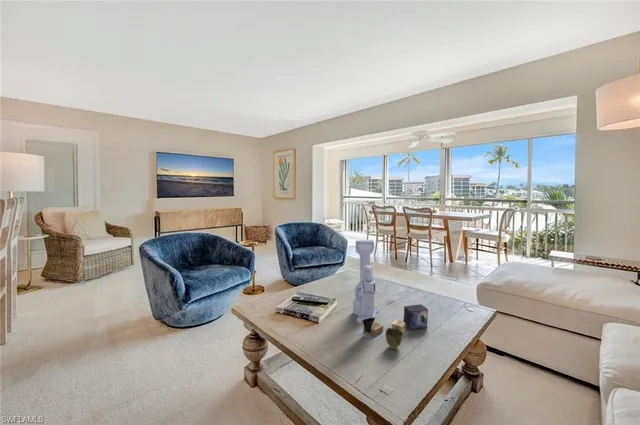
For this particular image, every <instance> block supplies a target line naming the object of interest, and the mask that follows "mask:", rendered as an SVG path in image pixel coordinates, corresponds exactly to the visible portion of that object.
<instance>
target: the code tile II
mask: <svg viewBox="0 0 640 425" xmlns="http://www.w3.org/2000/svg"><path fill="white" fill-rule="evenodd" d="M409 334H410V332H409V331H406V330H405V333H404V334H403V335H402V339H404V338H405V337H406V336H408V335H409Z"/></svg>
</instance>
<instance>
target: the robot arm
mask: <svg viewBox="0 0 640 425" xmlns="http://www.w3.org/2000/svg"><path fill="white" fill-rule="evenodd" d="M374 251H375V241H374V239H356V240H355V253H356V254H358V255H359V282H358V283H356V284H355V286H354V298H353V301H352V312H351V314H354V315H355V316H357V318H356V322H357V323H359V324H361V323H362V324H363V328H364V327H365V331H366V332H368V333H369V332H370V330H371V327H372V324H373V322H375V320H376V318H377V317H376V315H378V314H379V309H377V308H375V293H376V289H377V286H376V281H375V279H374V270H373V268H372V267H371V254H372V253H373V252H374Z"/></svg>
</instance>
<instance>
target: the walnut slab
mask: <svg viewBox="0 0 640 425" xmlns="http://www.w3.org/2000/svg"><path fill="white" fill-rule="evenodd" d="M363 328H364V330H363V331H365V327H364V326H363ZM383 331H384V325H383V324H381V323H378V322H376V321H374V322H373V324H372V327H371V330H370V332H369V334H371V335H373V336H376V335H378V334H380V333H381V332H383ZM365 332H366V331H365ZM367 333H368V332H367Z"/></svg>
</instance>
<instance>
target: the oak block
mask: <svg viewBox="0 0 640 425" xmlns="http://www.w3.org/2000/svg"><path fill="white" fill-rule="evenodd" d="M392 328H393V329H395V328H396V329H399V330H400V331H402V335H403V334H404V333H405V331H406V327H405V322H404V321H401V320H398V319H395V320H394V321H393V322H392V323H391V329H392Z"/></svg>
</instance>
